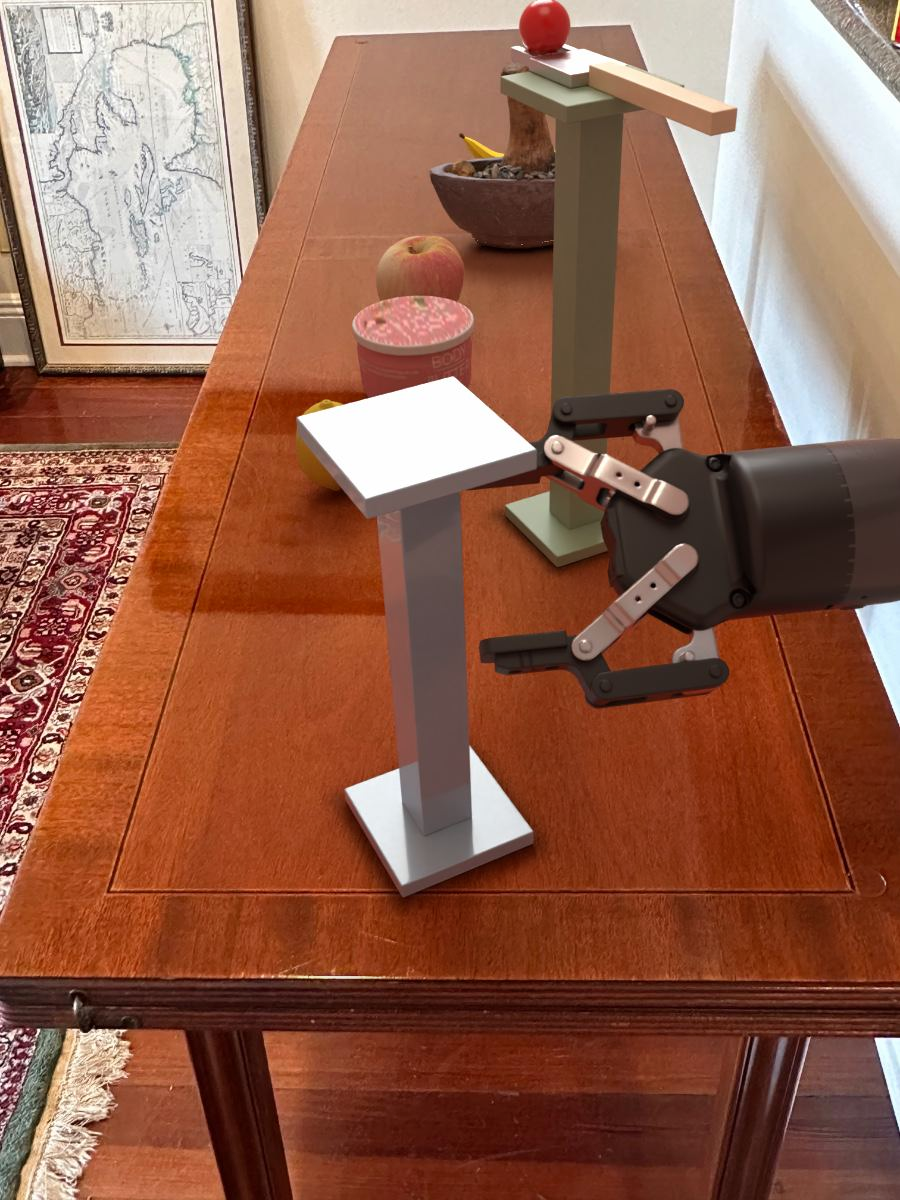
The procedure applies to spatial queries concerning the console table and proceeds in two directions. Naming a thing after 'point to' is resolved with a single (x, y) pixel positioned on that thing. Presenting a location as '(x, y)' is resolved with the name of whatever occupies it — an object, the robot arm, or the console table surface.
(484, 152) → the banana
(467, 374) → the container
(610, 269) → the tall stand
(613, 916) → the console table surface
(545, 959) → the console table surface
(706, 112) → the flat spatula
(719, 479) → the robot arm
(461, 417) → the low stand
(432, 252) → the apple
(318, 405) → the lemon
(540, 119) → the planter
